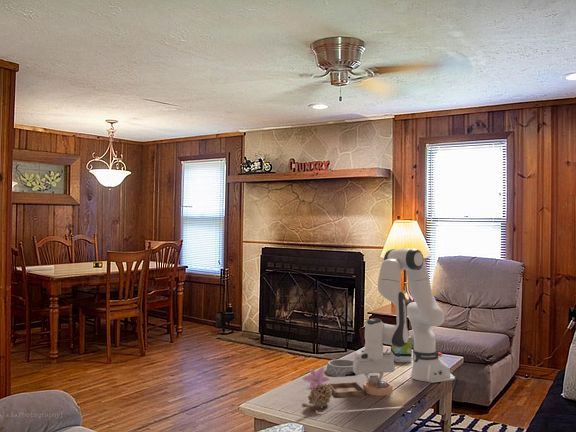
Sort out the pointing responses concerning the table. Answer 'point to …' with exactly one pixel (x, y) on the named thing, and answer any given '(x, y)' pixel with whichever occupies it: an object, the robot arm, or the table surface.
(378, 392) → the bowl
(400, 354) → the tea box
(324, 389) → the pine cone
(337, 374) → the dog bowl
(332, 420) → the table surface
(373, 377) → the pebble
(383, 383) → the grey rounded cylinder
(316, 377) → the lily
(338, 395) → the tray
